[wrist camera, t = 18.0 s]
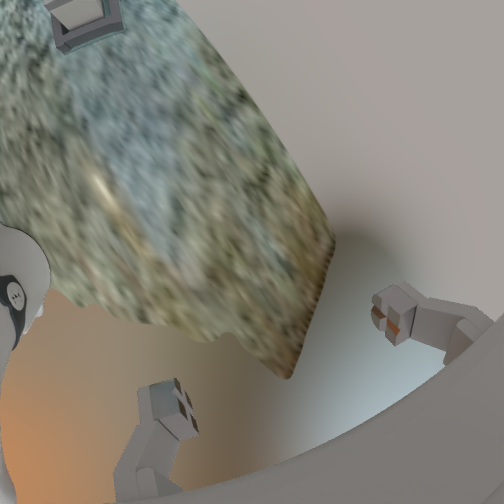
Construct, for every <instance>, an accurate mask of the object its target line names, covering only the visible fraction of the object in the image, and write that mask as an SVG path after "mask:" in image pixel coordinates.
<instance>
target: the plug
mask: <svg viewBox="0 0 504 504" xmlns="http://www.w3.org/2000/svg"><path fill="white" fill-rule="evenodd" d="M43 3H44V6H45V7H46V8H47V9H48V10H49V11H50V12H51V13H52V14H53V15H54V16H55V17H56V18H57V19H58V20H59V21H60V22H61V23H62V24H63V25H64V26H65V27H66V28H67V29H68V30H69V31H70V32H71V31H74V30H76V29H78V28H81V27H83V26H85V25H88V24H90V23H93V22H95V21H98V20H101V19H103V18H106V14H105V9H104V3H103V0H43Z"/></svg>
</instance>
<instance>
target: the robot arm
mask: <svg viewBox="0 0 504 504" xmlns="http://www.w3.org/2000/svg"><path fill="white" fill-rule="evenodd" d="M50 278H51V277H50V268H49V264H48V261H47V259H46V257H45V255H44V253H43V251H42V249H41V248H40V247H39V245H38V244H37V243H36V242H35V241H34V240H33V239H32V238H31V237H30V236H28V235H27V234H25V233H24V232H22V231H20V230H17V229H14V228H9V227H6V226H4V225H3V224H1V223H0V394H1V386H2V381H3V377H4V374H5V370H6V367H7V364H8V361H9V358H10V355H11V352H12V351H13V350H14V349H15V347H16V346H17V344H18V342H19V341H20V339H21V336H22V334H26V333H27V332H28V330H29V328H30V326H31V324H32V322H33V320H34V318H35V317H40V316H41V315H42V314H43V312H44V298H45V296H46V294H47V292H48V289H49V286H50ZM372 303H373V304H374V306H373V308H372V310H371V318H372V321H373V323H374V325H375V326H376V327H377V328H378V329H379V330H380V331H384V332H385V337H386V338H387V339H388V340H389V341H390V342H391V343H392V344H393V345H394V346H396V345H398V344H400V343H402V342H403V341H405V340H406V339H408V338H411V339H413V340H416V341H419V342H421V343H424V344H427V345H430V346H432V347H435V348H438V349H440V350H443V351H446V355H445V357H444V360H443V364H444V365H445V366H446V367H444V368H443V369H442V370H441V371H440V372H438V373H437V374H435V375H434V376H433V377H431V378H430V379H429V380H428V381H426V382H425V383H423V384H422V385H421V386H419V387H418V388H416V389H415V390H414V391H412V392H411V393H409V394H408V395H406V396H405V397H403V398H402V399H401V400H399V401H397V402H396V403H395V404H393V405H391V406H390V407H388V408H387V409H385V410H383V411H382V412H380V413H379V414H377V415H375V416H374V417H372V418H370V419H369V420H367V421H365V422H363V423H362V424H360V425H358V426H356V427H355V428H353V429H351V430H349V431H347V432H345V433H343V434H341V435H340V436H338V437H336V438H334V439H332V440H330V441H328V442H326V443H324V444H322V445H319V446H318V447H315V448H313V449H311V450H309V451H307V452H304V453H302V454H300V455H297V456H295V457H293V458H290V459H288V460H285V461H283V462H281V463H278V464H275V465H273V466H270V467H268V468H265V469H262V470H259V471H256V472H254V473H251V474H248V475H245V476H242V477H239V478H235V479H232V480H229V481H225V482H222V483H219V484H215V485H211V486H208V487H204V488H200V489H195V490H192V491H187V492H183V488H182V487H180V486H179V485H177V484H175V483H174V482H172V481H170V480H169V475H170V472H171V469H172V466H173V463H174V459H175V456H176V453H177V450H178V447H179V443H180V442H179V441H181V440H185V439H188V438H191V437H194V436H197V435H200V434H199V430H198V426H197V422H196V420H195V419H194V417H193V416H192V413H193V407H192V404H191V401H190V399H189V397H188V395H187V393H186V392H185V390H184V389H181V387H180V383H179V381H178V380H177V379H176V378H172V379H169V380H166V381H162V382H159V383H155V384H152V385H148V386H145V387H141V388H138V391H137V396H138V407H139V417H140V425H137V426H136V428H135V430H134V432H133V434H132V436H131V438H130V440H129V442H128V444H127V446H126V448H125V450H124V452H123V454H122V455H121V457H120V460H119V462H118V463H117V466H116V467H115V470H114V472H113V477H114V486H115V494H116V501H117V503H104V504H504V313H503V315H502V316H501V317H500V318H499V319H498V320H497V321H496V322H494V321H493V320H492V319H490V318H489V317H488V316H487V315H485V314H484V313H483V312H482V311H480V310H479V309H478V308H477V307H474V306H469V305H464V304H459V303H454V302H450V301H445V300H439V299H435V298H428V299H427V298H426V297H425V296H424V295H422V294H421V293H420V292H418V291H417V290H416V289H415V288H413V287H412V286H411V285H410V284H408V283H407V282H406V281H404V280H400V281H398V282H396V283H394V284H392V285H390V286H388V287H387V288H385V289H383V290H381V291H379V292H377V293H376V294H374V295H373V297H372ZM0 504H16V491H15V487H14V484H13V482H12V480H11V478H10V475H9V473H8V470H7V467H6V464H5V460H4V455H3V449H2V440H1V427H0Z"/></svg>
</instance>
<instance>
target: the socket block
mask: <svg viewBox="0 0 504 504" xmlns="http://www.w3.org/2000/svg"><path fill="white" fill-rule="evenodd" d="M103 3H104V9H105V14H106V18H103V19H101V20H98V21H95V22H93V23H90V24H88V25H85V26H83V27H81V28H78V29H76V30H74V31H71V32H70V31H69V30H68V29H67V28H66V27H65V26H64V25H63V24H62V23H61V22H60V21H59V20H58V19H57V18H56V17H55V16H54V15H53V14H52V13H51V19H52V26H53V32H54V38H55V44H56V48H57V49H59V50H60V51H62V52H63V54H64V55H66V54H68V53H71V52H73V51H75V50H77V49H80V48H82V47H84V46H87V45H89V44H92V43H94V42H97V41H99V40H102V39H104V38H107V37H110V36H113V35H116V34H118V33H121V32H124V31H126V27H125V23H124V18H123V13H122V8H121V3H120V0H103Z"/></svg>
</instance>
